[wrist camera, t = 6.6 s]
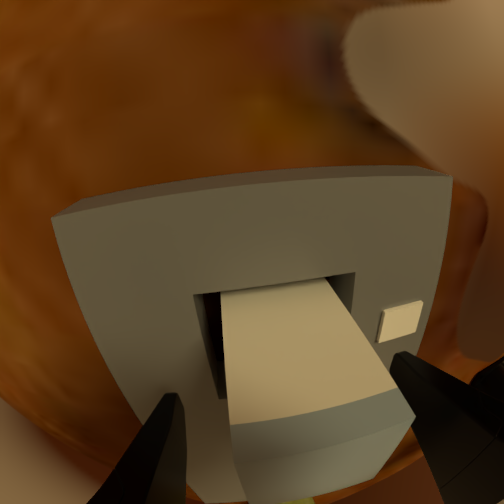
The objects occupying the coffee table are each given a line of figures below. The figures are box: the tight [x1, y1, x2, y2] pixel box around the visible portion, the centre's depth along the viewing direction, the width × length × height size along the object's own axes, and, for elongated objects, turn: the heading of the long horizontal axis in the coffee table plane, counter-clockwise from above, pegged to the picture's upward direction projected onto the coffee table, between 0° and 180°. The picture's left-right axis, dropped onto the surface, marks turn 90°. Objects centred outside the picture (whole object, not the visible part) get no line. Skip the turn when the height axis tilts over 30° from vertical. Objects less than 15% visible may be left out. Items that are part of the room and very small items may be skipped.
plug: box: [220, 277, 416, 504], centre depth 9 cm, size 4×4×8 cm
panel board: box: [51, 165, 453, 503], centre depth 14 cm, size 14×26×3 cm, turn 5°
